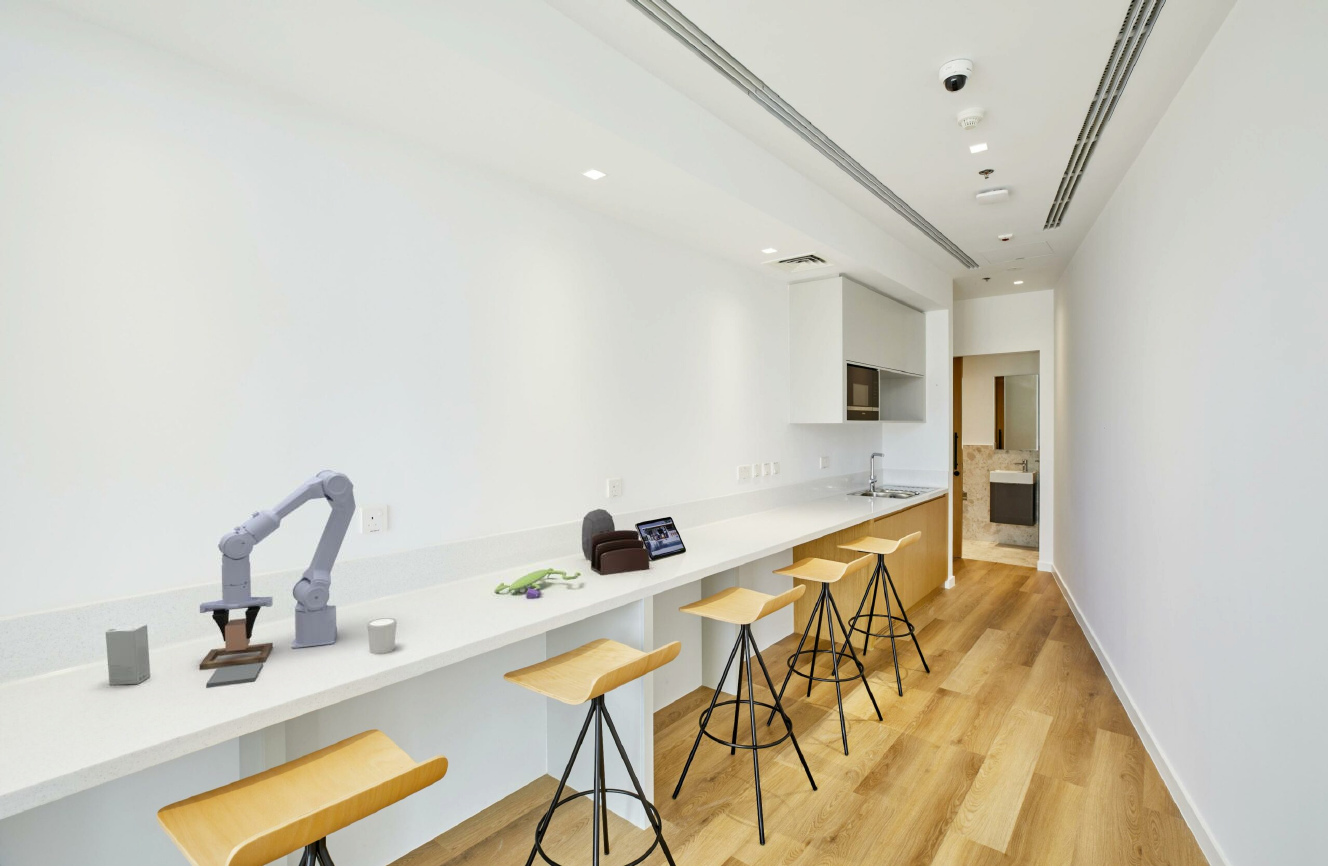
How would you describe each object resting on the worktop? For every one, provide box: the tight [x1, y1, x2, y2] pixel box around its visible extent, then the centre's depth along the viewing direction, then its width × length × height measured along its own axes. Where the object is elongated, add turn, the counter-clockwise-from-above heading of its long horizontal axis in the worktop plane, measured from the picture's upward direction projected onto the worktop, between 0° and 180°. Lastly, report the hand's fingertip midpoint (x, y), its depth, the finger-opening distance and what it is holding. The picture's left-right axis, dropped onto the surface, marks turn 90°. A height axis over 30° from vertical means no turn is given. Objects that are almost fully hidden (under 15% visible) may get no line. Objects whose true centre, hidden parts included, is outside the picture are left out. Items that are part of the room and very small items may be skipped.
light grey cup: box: [366, 617, 398, 655], centre depth 163 cm, size 7×7×7 cm
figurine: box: [494, 567, 582, 599], centre depth 218 cm, size 18×27×6 cm
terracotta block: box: [224, 617, 251, 652], centre depth 156 cm, size 4×5×6 cm
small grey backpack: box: [581, 508, 616, 560], centre depth 261 cm, size 15×8×20 cm, turn 130°
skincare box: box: [105, 624, 151, 686], centre depth 143 cm, size 6×4×12 cm
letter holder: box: [590, 529, 650, 576], centre depth 245 cm, size 10×20×14 cm, turn 119°
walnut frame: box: [199, 642, 274, 671], centre depth 157 cm, size 13×10×1 cm
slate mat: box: [205, 662, 264, 688], centre depth 146 cm, size 9×9×1 cm
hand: (237, 638), depth 157 cm, fingers closed on terracotta block, 4 cm apart
